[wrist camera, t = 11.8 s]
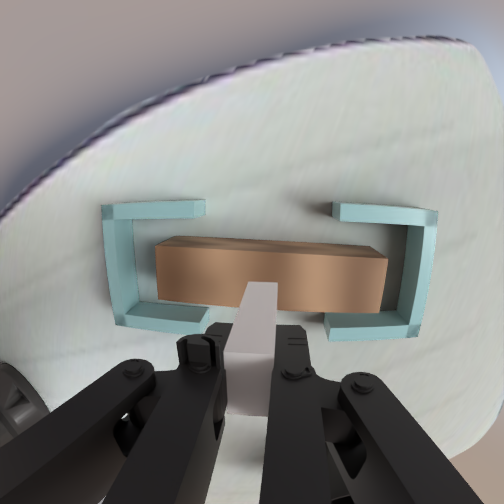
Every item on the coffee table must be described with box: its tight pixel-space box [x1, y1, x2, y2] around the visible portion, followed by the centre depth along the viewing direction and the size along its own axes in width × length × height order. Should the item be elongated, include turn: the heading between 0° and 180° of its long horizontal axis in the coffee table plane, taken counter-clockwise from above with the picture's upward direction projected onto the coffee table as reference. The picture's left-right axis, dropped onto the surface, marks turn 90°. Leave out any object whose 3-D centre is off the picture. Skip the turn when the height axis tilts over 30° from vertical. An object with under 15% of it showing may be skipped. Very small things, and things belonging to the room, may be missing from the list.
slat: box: [155, 236, 388, 313], centre depth 21 cm, size 16×4×4 cm, turn 88°
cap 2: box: [324, 202, 438, 341], centre depth 20 cm, size 8×10×3 cm
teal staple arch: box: [101, 200, 209, 335], centre depth 22 cm, size 8×10×3 cm
